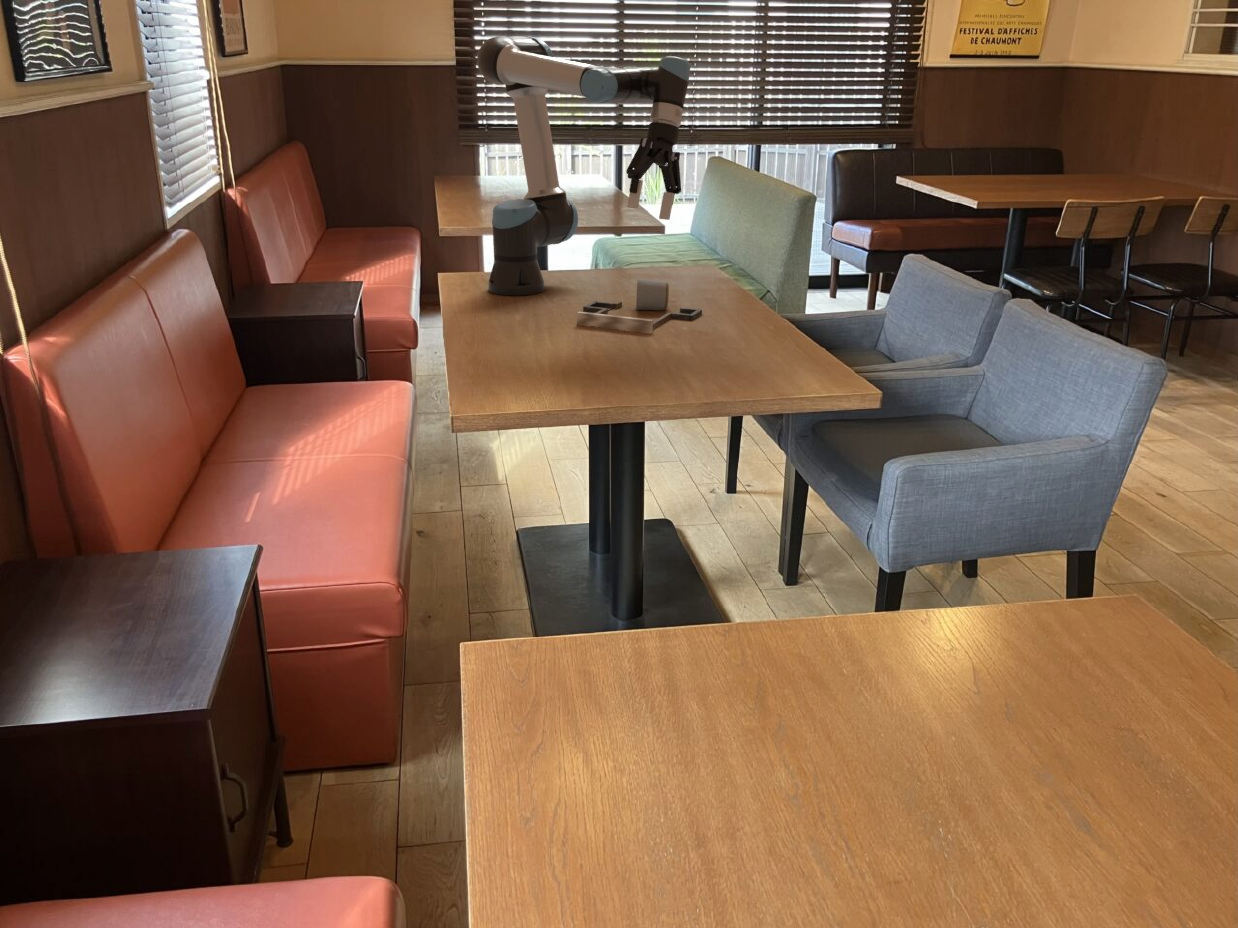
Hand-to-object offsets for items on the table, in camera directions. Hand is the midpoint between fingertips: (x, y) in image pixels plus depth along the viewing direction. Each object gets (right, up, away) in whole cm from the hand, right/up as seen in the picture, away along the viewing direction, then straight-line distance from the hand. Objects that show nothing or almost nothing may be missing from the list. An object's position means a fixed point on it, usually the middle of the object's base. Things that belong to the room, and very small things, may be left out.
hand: (648, 213), depth 251 cm
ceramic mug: (+1, -22, +12) cm, 24 cm away
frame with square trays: (-4, -25, +1) cm, 26 cm away
